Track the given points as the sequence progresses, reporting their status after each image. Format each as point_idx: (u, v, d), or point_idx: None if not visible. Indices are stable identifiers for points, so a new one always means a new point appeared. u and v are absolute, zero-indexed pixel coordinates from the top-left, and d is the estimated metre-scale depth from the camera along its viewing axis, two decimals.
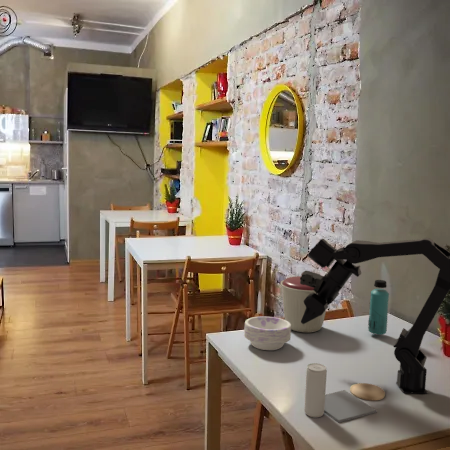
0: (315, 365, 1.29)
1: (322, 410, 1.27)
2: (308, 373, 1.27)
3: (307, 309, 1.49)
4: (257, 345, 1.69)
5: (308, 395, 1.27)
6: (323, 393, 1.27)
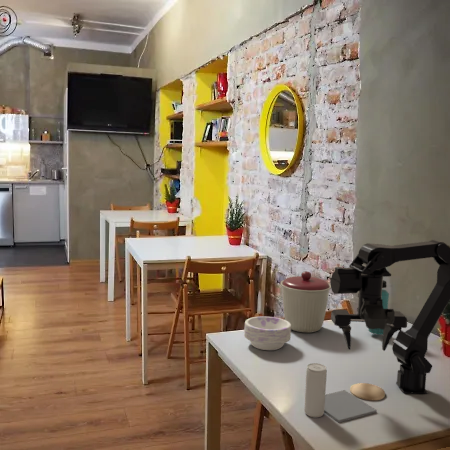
0: (315, 365, 1.29)
1: (322, 410, 1.27)
2: (308, 373, 1.27)
3: None
4: (257, 345, 1.69)
5: (308, 395, 1.27)
6: (323, 393, 1.27)
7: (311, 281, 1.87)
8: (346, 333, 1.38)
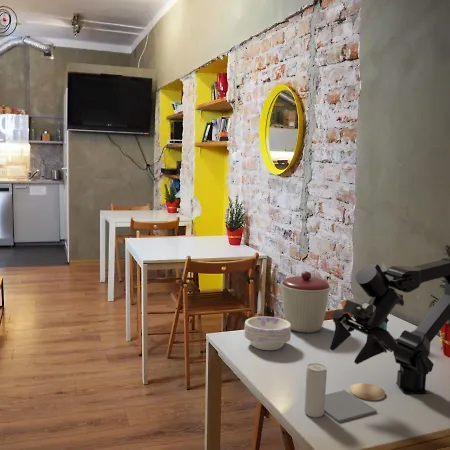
0: (315, 365, 1.29)
1: (322, 410, 1.27)
2: (308, 373, 1.27)
3: (370, 346, 1.27)
4: (257, 345, 1.69)
5: (308, 395, 1.27)
6: (323, 393, 1.27)
7: (311, 281, 1.87)
8: (336, 330, 1.37)
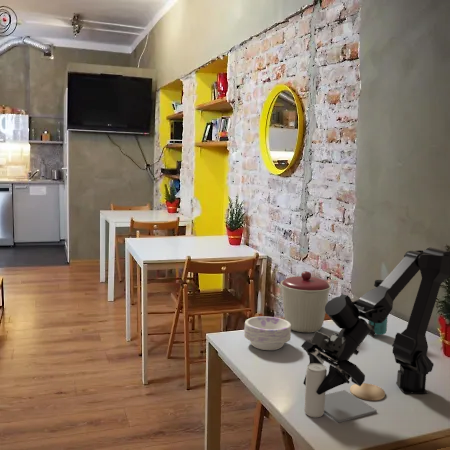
0: (315, 365, 1.29)
1: (322, 410, 1.27)
2: (308, 373, 1.27)
3: (332, 377, 1.25)
4: (257, 345, 1.69)
5: (308, 395, 1.27)
6: (323, 393, 1.27)
7: (311, 281, 1.87)
8: None
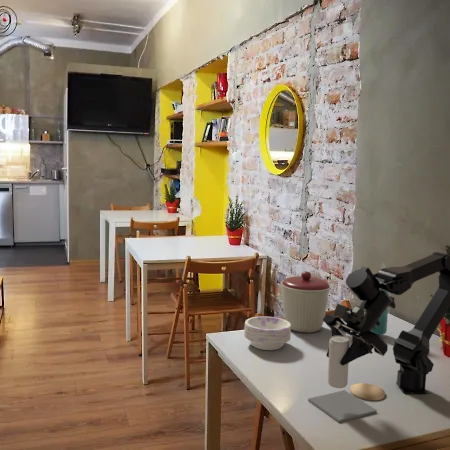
0: (337, 337, 1.31)
1: (346, 381, 1.30)
2: (331, 345, 1.29)
3: (355, 347, 1.27)
4: (257, 345, 1.69)
5: (332, 366, 1.29)
6: (346, 364, 1.29)
7: (311, 281, 1.87)
8: None
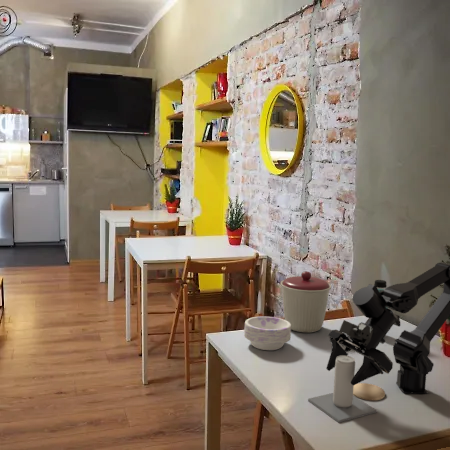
0: (344, 357, 1.33)
1: (350, 400, 1.31)
2: (337, 364, 1.31)
3: (366, 367, 1.27)
4: (257, 345, 1.69)
5: (337, 386, 1.31)
6: None
7: (311, 281, 1.87)
8: (332, 350, 1.37)
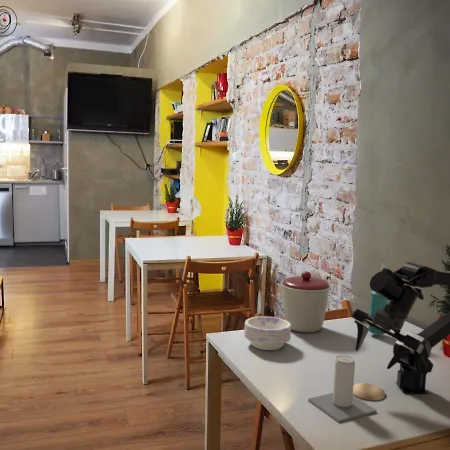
0: (343, 357, 1.33)
1: (350, 401, 1.31)
2: (337, 365, 1.31)
3: None
4: (257, 345, 1.69)
5: (337, 386, 1.31)
6: (351, 384, 1.31)
7: (311, 281, 1.87)
8: (358, 331, 1.40)
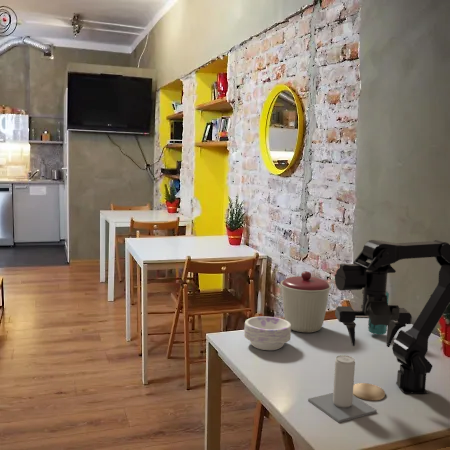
0: (343, 357, 1.33)
1: (350, 401, 1.31)
2: (337, 365, 1.31)
3: None
4: (257, 345, 1.69)
5: (337, 386, 1.31)
6: (351, 384, 1.31)
7: (311, 281, 1.87)
8: (350, 330, 1.37)
